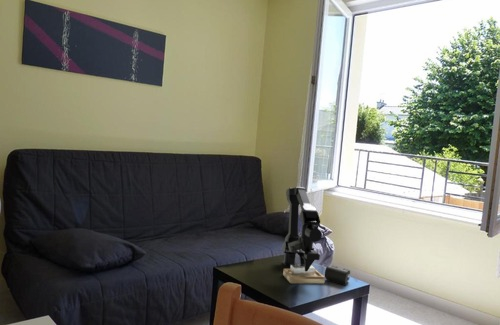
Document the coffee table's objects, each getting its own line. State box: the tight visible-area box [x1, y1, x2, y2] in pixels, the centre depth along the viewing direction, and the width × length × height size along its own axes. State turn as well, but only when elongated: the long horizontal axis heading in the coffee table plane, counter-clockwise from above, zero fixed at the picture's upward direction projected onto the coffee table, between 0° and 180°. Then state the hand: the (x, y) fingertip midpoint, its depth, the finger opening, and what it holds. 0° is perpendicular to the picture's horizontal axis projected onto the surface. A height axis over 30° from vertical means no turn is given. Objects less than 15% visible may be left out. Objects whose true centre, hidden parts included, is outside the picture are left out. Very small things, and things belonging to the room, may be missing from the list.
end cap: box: [324, 265, 351, 286], centre depth 180 cm, size 10×7×7 cm
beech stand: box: [282, 268, 326, 284], centre depth 180 cm, size 11×16×3 cm
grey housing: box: [289, 264, 316, 276], centre depth 180 cm, size 10×5×4 cm, turn 105°
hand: (304, 269), depth 180 cm, fingers closed on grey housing, 4 cm apart
